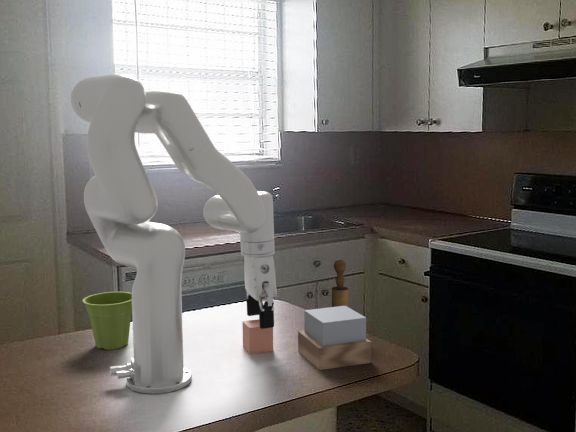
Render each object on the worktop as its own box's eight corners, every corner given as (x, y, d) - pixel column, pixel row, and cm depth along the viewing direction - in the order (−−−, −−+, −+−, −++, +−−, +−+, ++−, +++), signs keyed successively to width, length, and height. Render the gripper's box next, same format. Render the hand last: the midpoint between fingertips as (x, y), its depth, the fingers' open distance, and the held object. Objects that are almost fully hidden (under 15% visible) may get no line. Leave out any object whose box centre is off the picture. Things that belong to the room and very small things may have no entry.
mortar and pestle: (358, 332, 161) (359, 260, 159) (342, 338, 156) (342, 264, 154) (337, 326, 166) (337, 256, 163) (320, 332, 161) (320, 260, 158)
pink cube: (249, 354, 146) (249, 328, 146) (242, 346, 152) (242, 321, 151) (273, 351, 148) (273, 325, 148) (265, 343, 153) (265, 318, 153)
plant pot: (120, 333, 161) (118, 288, 159) (147, 345, 153) (146, 297, 151) (75, 345, 153) (72, 297, 151) (101, 357, 144) (99, 307, 143)
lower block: (318, 371, 137) (318, 348, 136) (298, 352, 148) (298, 331, 147) (370, 364, 141) (371, 341, 140) (347, 346, 152) (347, 325, 151)
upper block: (323, 346, 137) (323, 322, 137) (304, 332, 147) (304, 310, 146) (365, 340, 141) (366, 317, 140) (345, 327, 150) (345, 305, 150)
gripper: (286, 253, 140) (288, 330, 143) (262, 238, 156) (264, 308, 159) (252, 256, 138) (255, 335, 140) (231, 241, 154) (234, 312, 157)
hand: (260, 321), depth 150 cm, fingers open, 9 cm apart
